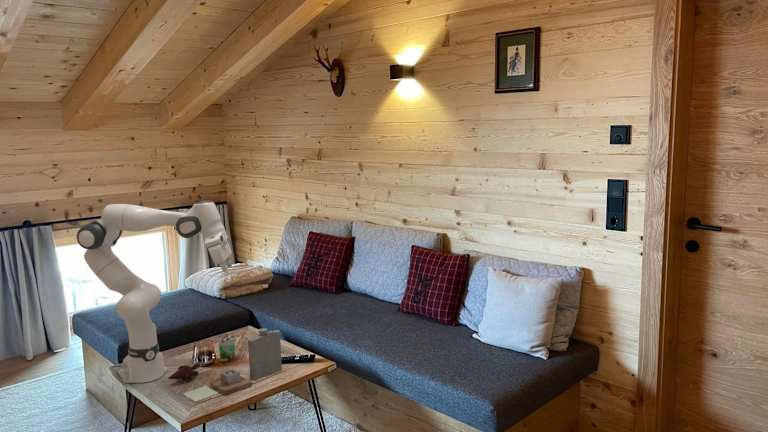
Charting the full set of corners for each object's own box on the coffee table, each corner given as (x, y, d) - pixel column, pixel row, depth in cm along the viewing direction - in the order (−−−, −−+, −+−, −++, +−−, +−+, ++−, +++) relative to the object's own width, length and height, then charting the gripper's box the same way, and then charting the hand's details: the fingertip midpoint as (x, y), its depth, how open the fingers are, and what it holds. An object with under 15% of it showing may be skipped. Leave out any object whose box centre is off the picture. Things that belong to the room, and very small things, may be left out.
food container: (233, 363, 272) (232, 342, 270) (219, 364, 272) (218, 342, 270) (240, 353, 284) (238, 333, 283) (227, 353, 284) (225, 333, 283)
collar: (221, 382, 248) (220, 373, 247) (233, 378, 252) (232, 368, 251) (228, 386, 244) (227, 376, 243) (240, 381, 248) (239, 372, 247)
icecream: (175, 374, 246) (205, 365, 258) (164, 366, 250) (195, 357, 262) (172, 389, 247) (203, 380, 259) (162, 381, 251) (192, 372, 263)
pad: (183, 394, 242) (183, 393, 242) (205, 386, 249) (205, 385, 249) (195, 402, 235) (195, 401, 235) (218, 393, 242) (218, 392, 242)
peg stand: (210, 387, 248) (209, 373, 247) (235, 378, 256) (235, 364, 256) (225, 395, 240) (224, 381, 239) (251, 386, 248) (250, 372, 247)
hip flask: (253, 381, 253) (250, 335, 250) (247, 378, 256) (244, 333, 252) (283, 369, 264) (281, 325, 261) (277, 366, 267) (275, 323, 264)
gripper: (214, 236, 257) (225, 267, 258) (203, 244, 236) (215, 277, 238) (228, 232, 257) (239, 262, 259) (218, 239, 237) (230, 272, 238)
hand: (228, 269), depth 248 cm, fingers open, 8 cm apart
